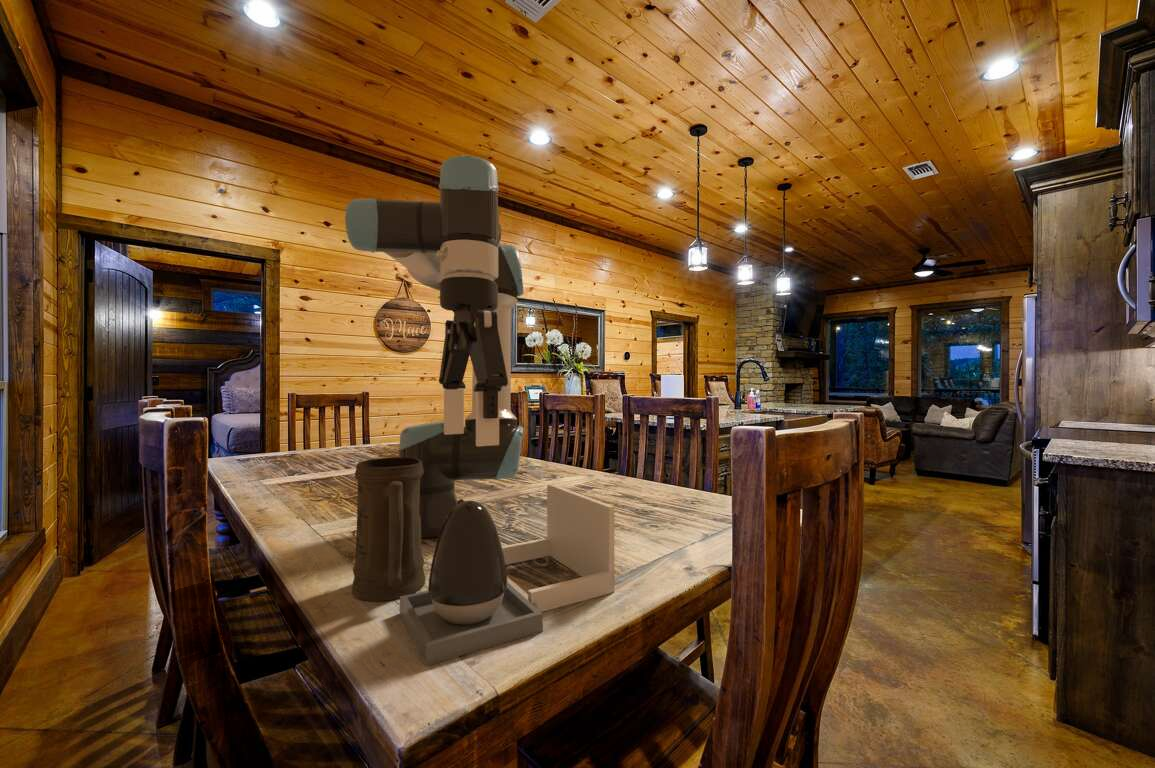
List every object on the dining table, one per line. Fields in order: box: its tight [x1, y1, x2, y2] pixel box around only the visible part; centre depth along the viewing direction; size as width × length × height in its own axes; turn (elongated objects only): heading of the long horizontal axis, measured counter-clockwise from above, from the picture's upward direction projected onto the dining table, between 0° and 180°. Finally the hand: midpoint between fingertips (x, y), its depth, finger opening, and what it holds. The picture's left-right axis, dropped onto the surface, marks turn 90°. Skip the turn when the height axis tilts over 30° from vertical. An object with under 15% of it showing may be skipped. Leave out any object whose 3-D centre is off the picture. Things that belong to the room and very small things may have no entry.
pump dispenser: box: [427, 498, 508, 625], centre depth 64 cm, size 10×10×15 cm
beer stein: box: [351, 456, 427, 602], centre depth 73 cm, size 15×11×20 cm
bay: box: [502, 483, 615, 613], centre depth 78 cm, size 20×14×13 cm
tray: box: [399, 582, 544, 667], centre depth 64 cm, size 15×15×2 cm
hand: (469, 439), depth 64 cm, fingers open, 13 cm apart
